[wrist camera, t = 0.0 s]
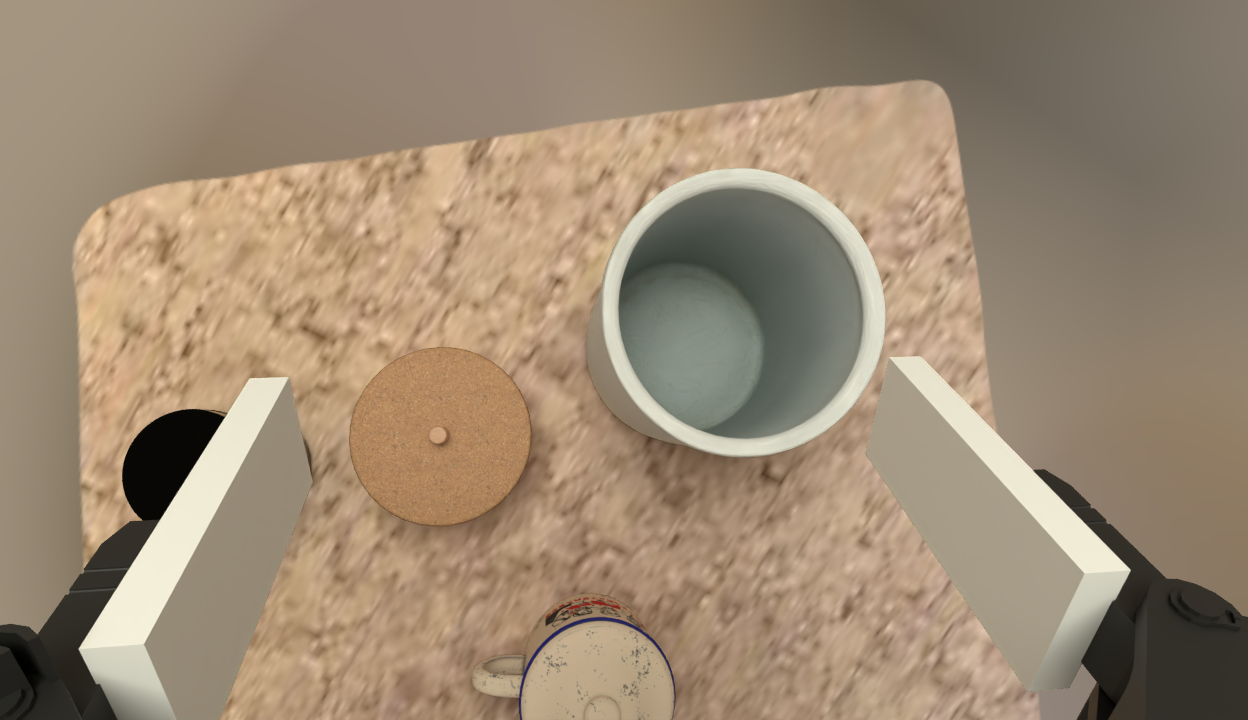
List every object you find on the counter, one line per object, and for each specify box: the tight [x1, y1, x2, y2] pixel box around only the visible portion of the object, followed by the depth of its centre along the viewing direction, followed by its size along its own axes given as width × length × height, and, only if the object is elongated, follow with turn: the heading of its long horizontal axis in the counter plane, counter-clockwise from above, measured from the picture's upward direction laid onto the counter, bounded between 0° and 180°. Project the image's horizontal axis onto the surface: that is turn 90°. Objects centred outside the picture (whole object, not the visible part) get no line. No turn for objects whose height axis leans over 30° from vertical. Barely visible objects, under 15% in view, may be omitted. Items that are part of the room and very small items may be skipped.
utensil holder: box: [586, 168, 886, 458], centre depth 45 cm, size 15×15×18 cm
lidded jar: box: [349, 347, 532, 526], centre depth 46 cm, size 11×11×9 cm
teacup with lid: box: [472, 594, 675, 720], centre depth 44 cm, size 12×9×12 cm
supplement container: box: [122, 409, 310, 521], centre depth 44 cm, size 7×7×10 cm
